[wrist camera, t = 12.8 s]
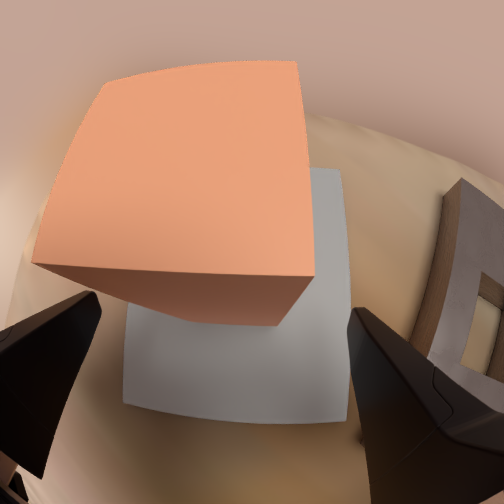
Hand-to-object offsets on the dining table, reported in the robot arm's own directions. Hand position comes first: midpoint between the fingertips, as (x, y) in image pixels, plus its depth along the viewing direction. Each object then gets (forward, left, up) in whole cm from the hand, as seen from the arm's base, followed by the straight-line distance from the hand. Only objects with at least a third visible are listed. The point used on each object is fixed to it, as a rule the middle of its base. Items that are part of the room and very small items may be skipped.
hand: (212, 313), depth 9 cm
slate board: (+2, +1, -8) cm, 8 cm away
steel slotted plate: (+6, -17, -8) cm, 20 cm away
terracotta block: (+2, +1, -7) cm, 8 cm away
